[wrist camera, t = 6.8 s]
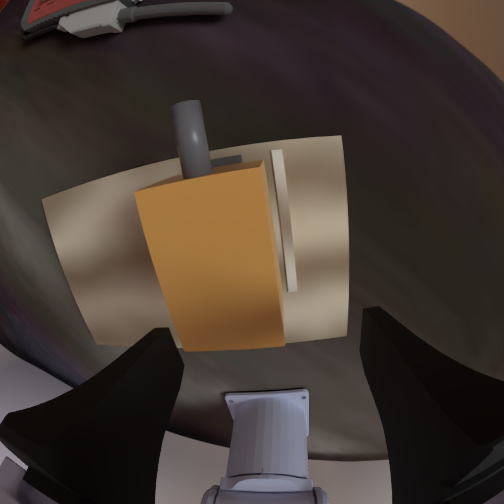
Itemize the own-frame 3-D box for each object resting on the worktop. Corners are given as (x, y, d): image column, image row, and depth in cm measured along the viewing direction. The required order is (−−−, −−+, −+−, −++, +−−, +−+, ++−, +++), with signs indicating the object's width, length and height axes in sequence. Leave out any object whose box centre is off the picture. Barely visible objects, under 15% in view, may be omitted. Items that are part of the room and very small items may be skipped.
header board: (343, 326, 20) (356, 367, 16) (102, 336, 23) (79, 367, 19) (336, 136, 15) (359, 134, 11) (50, 195, 18) (12, 211, 13)
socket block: (282, 291, 17) (285, 345, 12) (204, 299, 18) (184, 351, 13) (254, 105, 13) (245, 86, 8) (165, 124, 13) (120, 120, 9)
